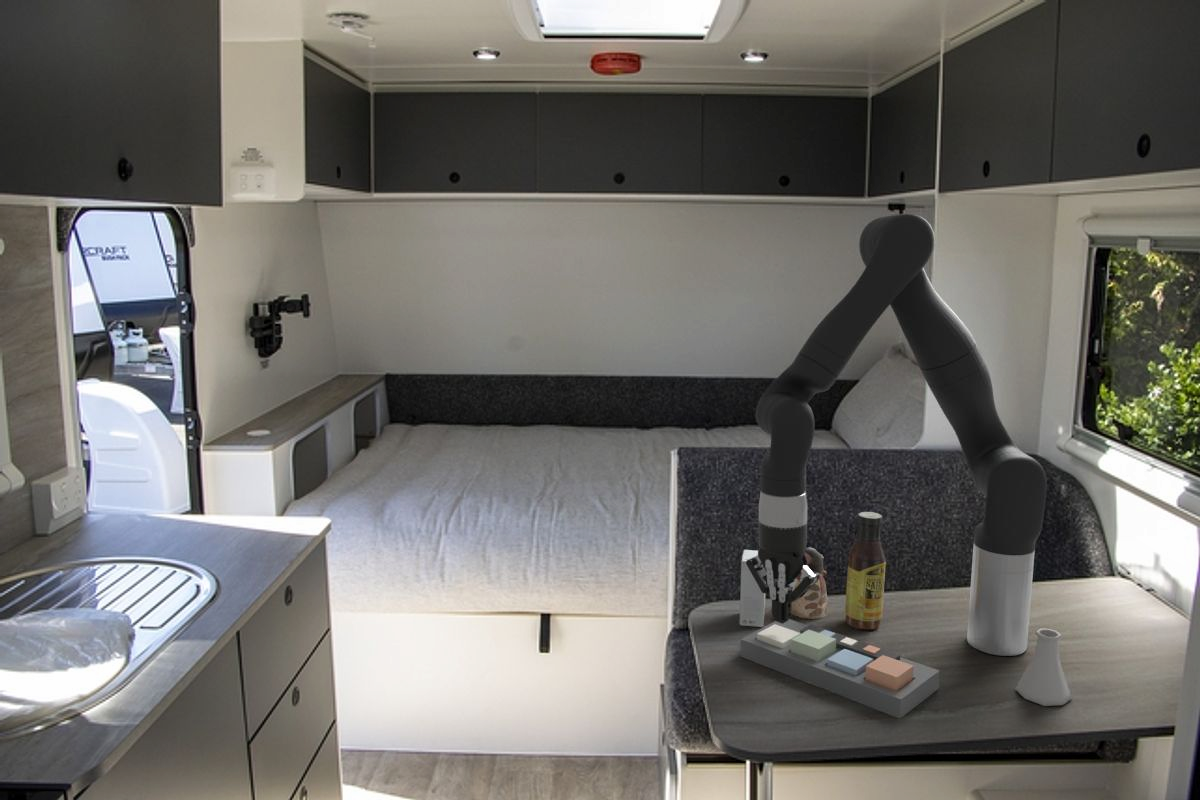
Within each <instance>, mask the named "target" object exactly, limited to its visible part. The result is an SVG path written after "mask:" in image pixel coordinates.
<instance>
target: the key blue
mask: <svg viewBox="0 0 1200 800" xmlns="http://www.w3.org/2000/svg"><path fill="white" fill-rule="evenodd" d="M871 662H873V659H872V658H870V657H867V656H864V655H861V654H858V653H855V652H852V651H850V650H847V649H843V650H841V651H840V652H838V653H837V654H835V655H833V656H832V657H830V658H828V659H827V666H830V667H832V668H835V669H838V670H840V671H843V672H846V673H848V674H851V675H854V676H859V675H860V674H862V673H863V672H865V671H866V666H867V665H868V664H870V663H871Z"/></svg>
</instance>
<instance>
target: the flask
mask: <svg viewBox="0 0 1200 800" xmlns="http://www.w3.org/2000/svg"><path fill="white" fill-rule="evenodd" d="M1035 635H1036V637H1037V641H1036V646H1035V650H1034V652H1033V656H1032V657H1031V659H1030V661H1029V663H1028V664H1027V667H1026V669H1025V671H1024V672H1023V674H1022V676H1021V678H1020V680H1019V681H1018V683H1017V685H1016V687H1015V689H1014V690H1015V691H1016V692H1018V694H1020V695H1021V696H1022V697H1023V699H1025V700H1028V701H1030V702H1033V703H1036V704H1039V705H1040V706H1044V707H1050V706H1052V707H1053V706H1064V705H1065V704H1066V703H1068V702H1069V701H1070V700H1072V695H1071V692H1070V689H1069V685H1068V684H1067V680H1066V676H1065V673H1064V671H1063V668H1062V667H1063V666H1062V664H1061V660H1060V653H1059V641H1060V639H1061V638H1062V635H1061V634H1060V632H1058V631H1057V630H1054V629H1050V628H1047V627H1046V628H1039V629H1037V630H1036V631H1035Z"/></svg>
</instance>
